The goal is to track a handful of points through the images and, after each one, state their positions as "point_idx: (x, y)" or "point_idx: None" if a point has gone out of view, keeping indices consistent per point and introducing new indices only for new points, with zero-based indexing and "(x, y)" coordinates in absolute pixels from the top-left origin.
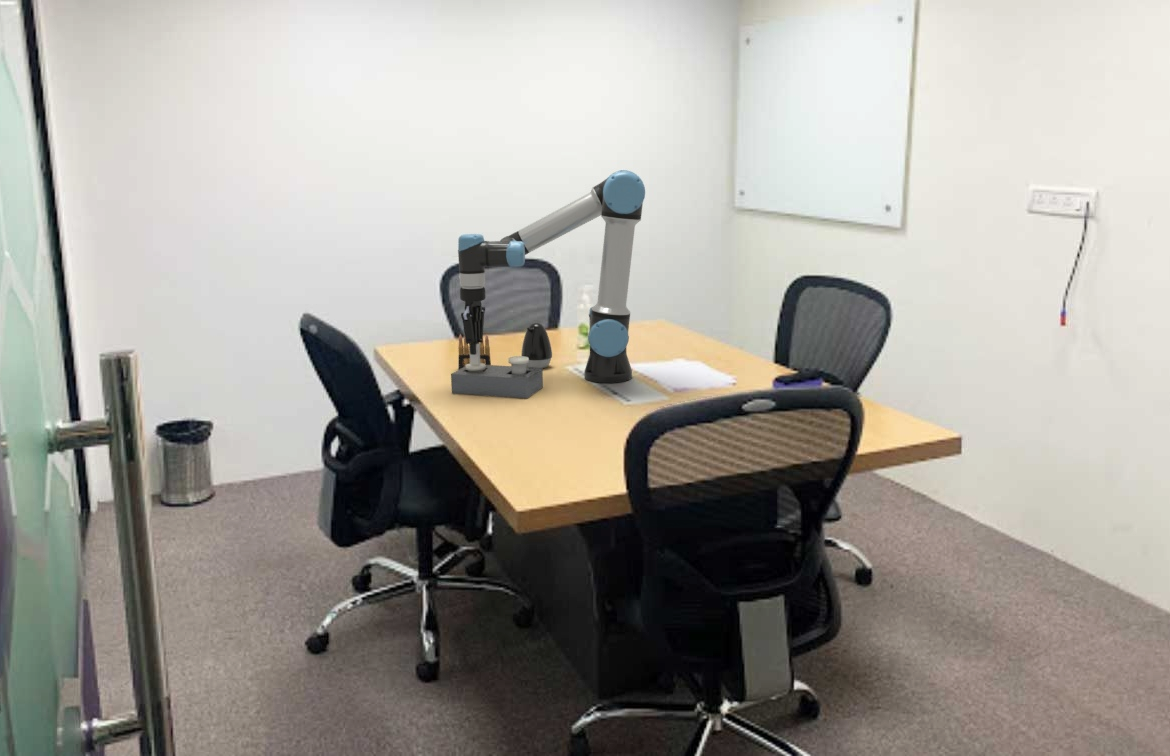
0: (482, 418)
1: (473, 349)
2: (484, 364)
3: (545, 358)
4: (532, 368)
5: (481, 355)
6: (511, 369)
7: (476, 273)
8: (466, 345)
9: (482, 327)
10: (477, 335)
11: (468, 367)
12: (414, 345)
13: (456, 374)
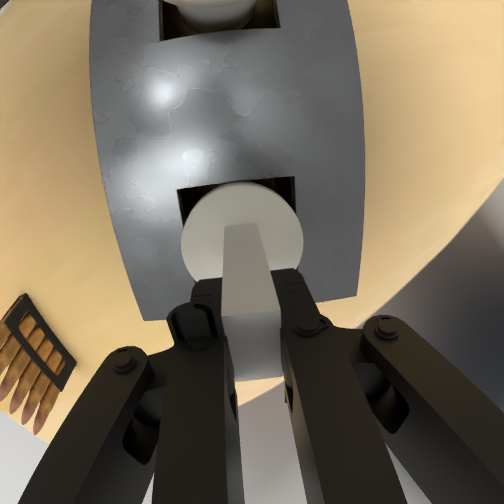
0: (495, 72)
1: (310, 298)
2: (208, 204)
3: None
4: None
5: (18, 341)
6: (238, 6)
7: None
8: (34, 396)
9: (69, 464)
10: (229, 405)
11: (299, 259)
12: (46, 440)
13: (358, 271)
